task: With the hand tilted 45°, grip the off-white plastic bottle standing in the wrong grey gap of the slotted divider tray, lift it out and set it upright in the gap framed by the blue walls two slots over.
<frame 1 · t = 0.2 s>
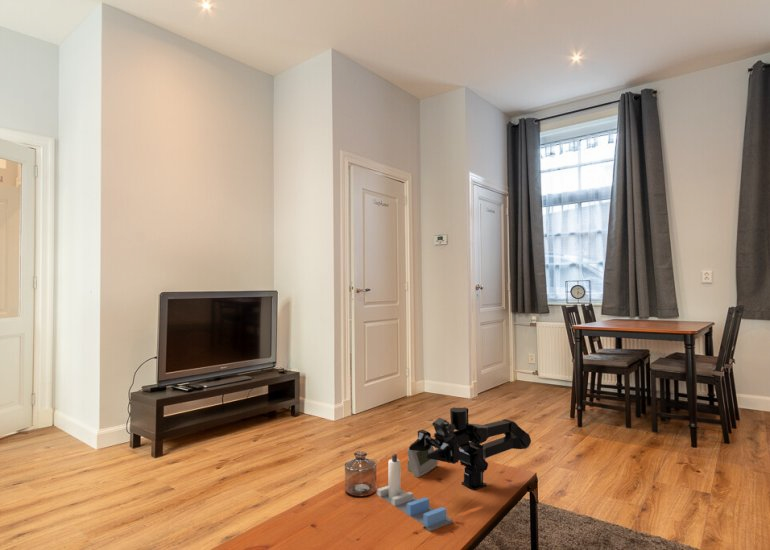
hand: (417, 452, 153), 17 cm above the table, tool horizontal, fingers open, 9 cm apart
slotted divider tray: (411, 508, 150), on the table
bottle: (394, 497, 156), point 1 cm above the table, touching slotted divider tray
digital clock: (422, 472, 180), on the table
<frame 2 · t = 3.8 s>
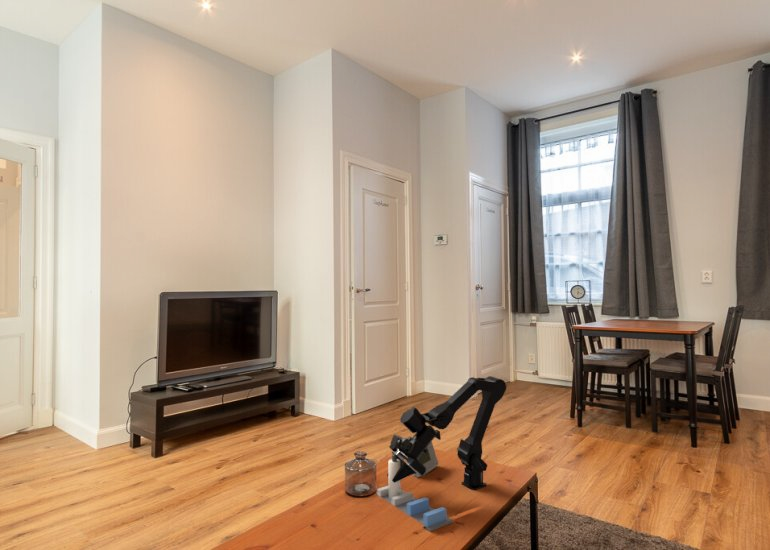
hand: (390, 479, 155), 7 cm above the table, tool tilted 45°, fingers closed on bottle, 4 cm apart
bottle: (394, 497, 156), point 1 cm above the table, touching slotted divider tray, gripper
everything else where it was.
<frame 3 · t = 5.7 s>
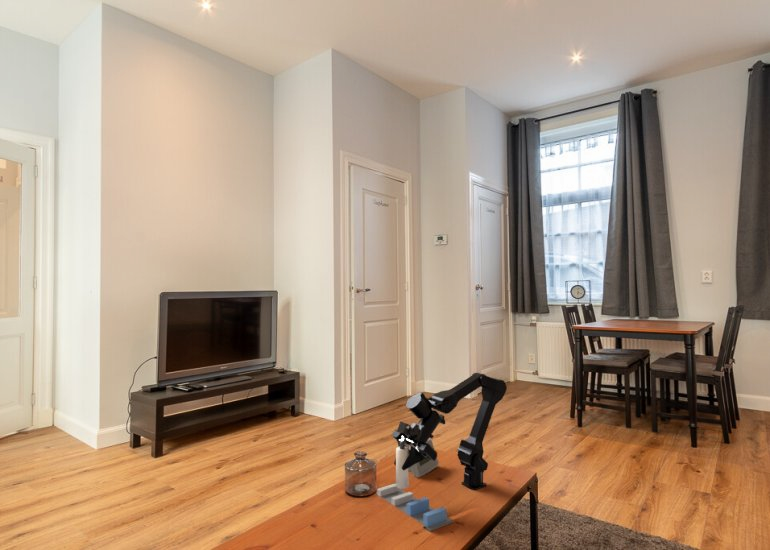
hand: (398, 467, 150), 13 cm above the table, tool tilted 45°, fingers closed on bottle, 4 cm apart
bottle: (402, 485, 151), point 7 cm above the table, touching gripper
everything else where it was.
when the fingers open (9 cm above the table, at t = 7.8 s): bottle drops 1 cm, resting on slotted divider tray.
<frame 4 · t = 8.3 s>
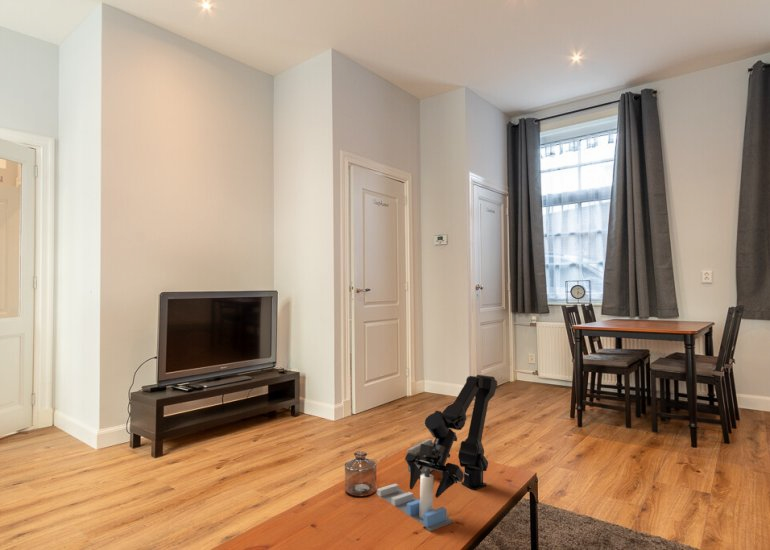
hand: (423, 492, 142), 9 cm above the table, tool tilted 45°, fingers open, 9 cm apart
bottle: (425, 516, 143), point 1 cm above the table, touching slotted divider tray
everything else where it was.
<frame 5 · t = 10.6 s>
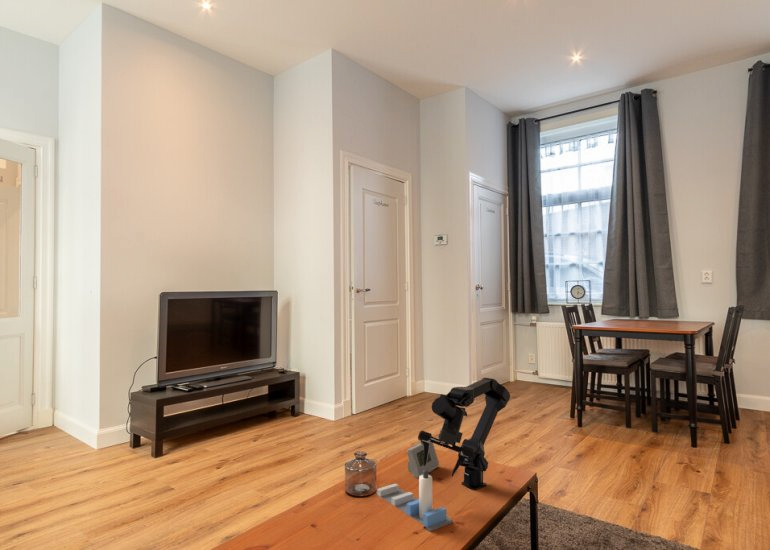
hand: (438, 471, 152), 11 cm above the table, tool tilted 30°, fingers open, 9 cm apart
nothing on the table moved.
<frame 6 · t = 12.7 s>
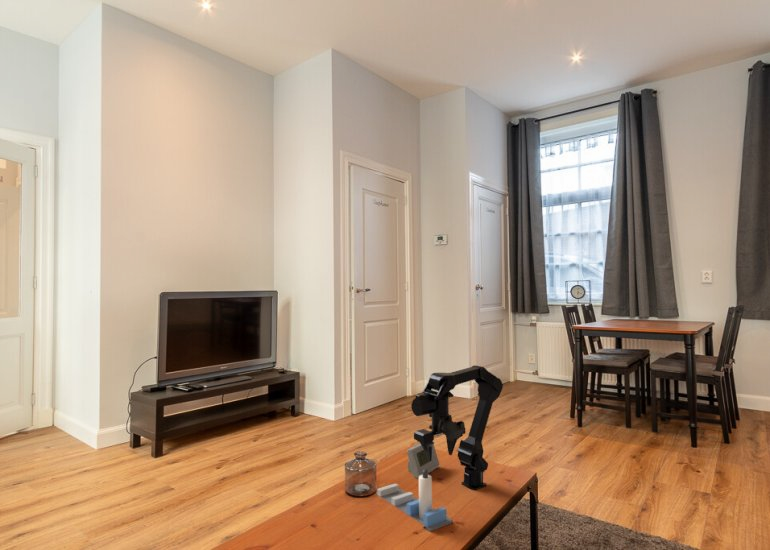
hand: (440, 457, 158), 13 cm above the table, tool pointing down, fingers open, 9 cm apart
nothing on the table moved.
at the end: bottle 0.0 cm from the target spot on the slotted divider tray, point 0.8 cm above the slotted divider tray's base; bottle tilted 1°; the gripper is holding nothing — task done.
